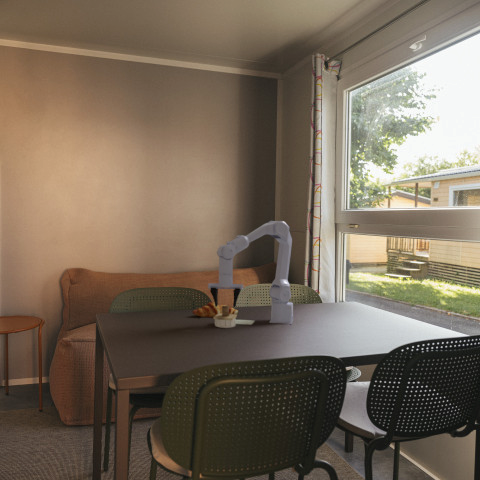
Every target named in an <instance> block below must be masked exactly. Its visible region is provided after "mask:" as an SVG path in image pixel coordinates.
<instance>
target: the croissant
mask: <svg viewBox="0 0 480 480" xmlns="http://www.w3.org/2000/svg"><path fill="white" fill-rule="evenodd" d="M222 306H227V305H226V304H218V306H215V302H213V301H210V302H208V303H207V304H206V305H202V307H200V308H196V309H194V310H192V314H193V315H195V316H197V317H200V318H213V317H214V316H216V315H217V314H219V313H220V314H222ZM238 312H239V310H238V309H236V308H235V307H230V306H229V314H237V315H238Z"/></svg>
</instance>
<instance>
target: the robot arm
mask: <svg viewBox="0 0 480 480" xmlns="http://www.w3.org/2000/svg"><path fill="white" fill-rule="evenodd" d="M266 235H269V236H271V237H273V238H274V239H275V240H276V241H277V242H278V253H277V262H276V268H275V269H276V270H275V278H274V280H273V281H272V282H271V287H270V288H269V291H268V295H269V297H270V298H271V310H270V311H271V315H270V317H271V319H270V320H269V323H270V324H271V323H272V324H284V325H285V324H286V325H287V324H288V325H291V324H292V323H293V322H294V303H293V302H291V301H290V300H291V297H292V291H291V285H290V282H289V280H288V279H289V271H290V270H289V269H290V264H291V263H290V262H291V253H292V244H293V238H292V235H291V233H290V226H289V225H288V224H287V222H286V221H283V220H275V221H274V220H269V221H268V222H266V223H264V224H261V226H259V227H257V228H255V229H254V230H253V231H251V232H249V233H248V234H246V235H242V234H241V235H236V236H235V238H234V239H231V241H229V240H227V241H226V244H222V245H220V246H219V247H218V248H217V251H216V255H217V256H218V283H207V289H208V290H209V289H210V294H211V295H212V298H213V301H214V302H215V306H218V305H219V302H218V300H219V297H218V296H219V289H221V290H232V291H233V303H232V305H233V307H232V308H236V307H237V302H238V298H239V296H240V293H241V291H242V290H244V283H243V284H241V283H233V282H234V277H233V276H234V275H233V273H234V271H233V270H234V269H233V268H234V266H233V265H234V262H233V261H234V257H235V256H236V255H237V254H238V253H240V252H242V251H243V250H245V249H247V248H248V247H249V245H250V244H251V243H252V242H254V241H256V240H257V239H259V238H262V237H263V236H266Z"/></svg>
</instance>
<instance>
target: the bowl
mask: <svg viewBox="0 0 480 480" xmlns="http://www.w3.org/2000/svg"><path fill="white" fill-rule="evenodd" d="M236 318H237V317H236ZM236 318H235V319H233V320H219V319H214V326H215V327H218V328H220V329H221V328H223V329H224V328H225V329H227V328H234V327H236V325H237V324H236V320H237V319H236Z"/></svg>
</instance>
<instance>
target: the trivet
mask: <svg viewBox="0 0 480 480" xmlns="http://www.w3.org/2000/svg"><path fill="white" fill-rule="evenodd" d="M254 323H255V320H254V319H253V320H252V319H251V320H250V319H236V324H235V325H253V324H254Z"/></svg>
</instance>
